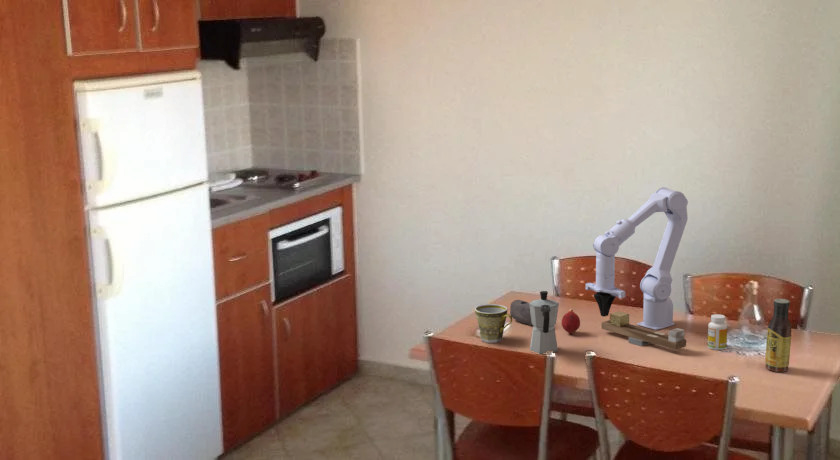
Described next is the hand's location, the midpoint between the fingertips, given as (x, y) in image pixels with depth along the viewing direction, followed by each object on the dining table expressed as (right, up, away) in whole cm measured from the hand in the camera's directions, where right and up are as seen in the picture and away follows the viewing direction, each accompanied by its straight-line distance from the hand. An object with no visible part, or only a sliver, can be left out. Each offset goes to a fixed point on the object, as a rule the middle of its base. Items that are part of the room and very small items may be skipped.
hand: (604, 315), depth 299 cm
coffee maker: (-21, -9, -17) cm, 28 cm away
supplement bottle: (+30, -8, -17) cm, 35 cm away
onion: (-11, -6, -1) cm, 12 cm away
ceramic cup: (-35, -7, -6) cm, 36 cm away
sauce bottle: (+40, -12, -37) cm, 56 cm away
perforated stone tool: (-22, -4, +10) cm, 25 cm away
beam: (+9, -7, -11) cm, 16 cm away
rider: (+4, -4, -4) cm, 7 cm away
